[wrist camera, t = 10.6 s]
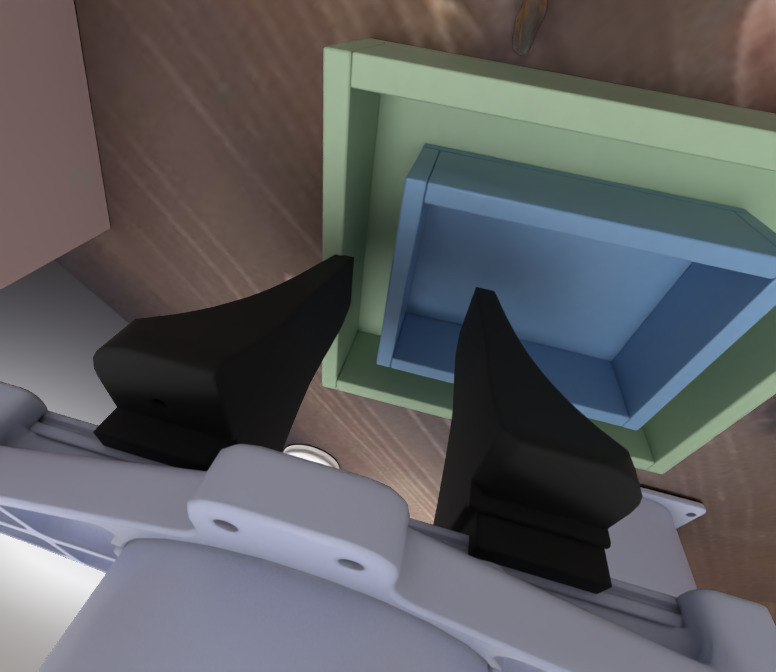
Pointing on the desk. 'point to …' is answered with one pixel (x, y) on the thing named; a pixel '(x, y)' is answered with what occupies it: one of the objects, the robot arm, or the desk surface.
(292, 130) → the desk surface
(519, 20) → the lion figurine
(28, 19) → the greeting card
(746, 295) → the blue bin
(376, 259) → the big bin
